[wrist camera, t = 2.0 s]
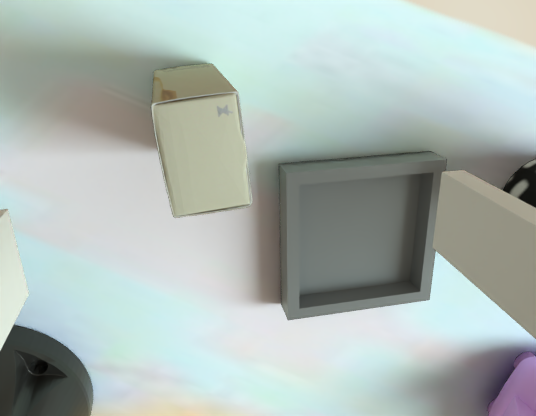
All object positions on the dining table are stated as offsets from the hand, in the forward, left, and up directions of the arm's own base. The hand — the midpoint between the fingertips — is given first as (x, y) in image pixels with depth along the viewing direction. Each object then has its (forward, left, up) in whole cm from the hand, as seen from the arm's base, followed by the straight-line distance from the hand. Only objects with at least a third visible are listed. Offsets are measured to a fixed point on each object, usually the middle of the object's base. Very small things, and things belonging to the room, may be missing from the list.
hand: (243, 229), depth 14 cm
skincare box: (0, 0, -22) cm, 22 cm away
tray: (+13, -11, -22) cm, 27 cm away
